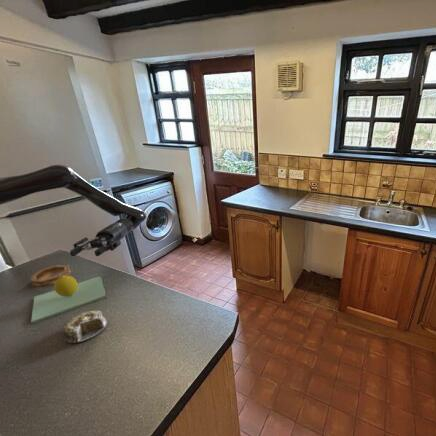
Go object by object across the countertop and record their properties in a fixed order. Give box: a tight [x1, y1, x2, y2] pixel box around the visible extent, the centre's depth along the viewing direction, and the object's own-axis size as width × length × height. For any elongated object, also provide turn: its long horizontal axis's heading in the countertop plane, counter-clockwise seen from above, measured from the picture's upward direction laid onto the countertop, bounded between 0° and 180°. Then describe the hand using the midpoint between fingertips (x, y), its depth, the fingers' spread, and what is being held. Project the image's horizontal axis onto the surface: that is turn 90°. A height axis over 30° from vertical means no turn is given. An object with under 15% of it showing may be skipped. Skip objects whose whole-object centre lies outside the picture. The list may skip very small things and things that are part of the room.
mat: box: [30, 275, 107, 324], centre depth 82 cm, size 18×14×1 cm
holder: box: [30, 264, 72, 287], centre depth 92 cm, size 11×11×2 cm
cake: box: [62, 310, 108, 344], centre depth 69 cm, size 10×10×5 cm
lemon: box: [54, 275, 78, 296], centre depth 80 cm, size 6×6×8 cm
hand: (83, 253), depth 87 cm, fingers open, 8 cm apart
